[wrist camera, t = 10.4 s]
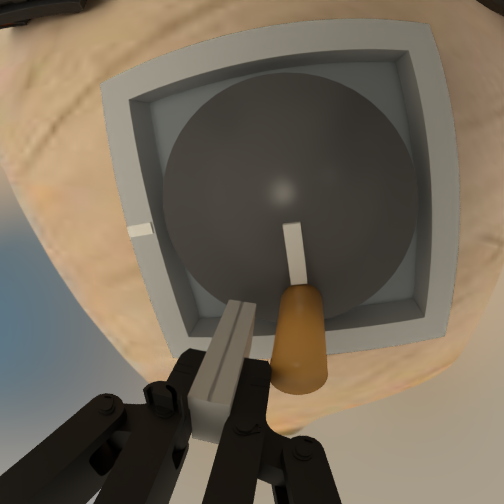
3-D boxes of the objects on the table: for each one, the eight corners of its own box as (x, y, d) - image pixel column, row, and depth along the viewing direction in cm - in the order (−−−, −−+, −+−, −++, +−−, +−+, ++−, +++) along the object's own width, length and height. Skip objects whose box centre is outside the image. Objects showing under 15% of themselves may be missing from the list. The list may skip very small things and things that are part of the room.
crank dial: (162, 111, 16) (68, 99, 8) (386, 75, 13) (450, 26, 5) (206, 308, 20) (159, 392, 13) (402, 290, 17) (448, 376, 10)
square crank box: (405, 45, 13) (430, 22, 9) (425, 304, 20) (445, 337, 15) (136, 91, 18) (98, 83, 13) (192, 325, 24) (171, 359, 20)
